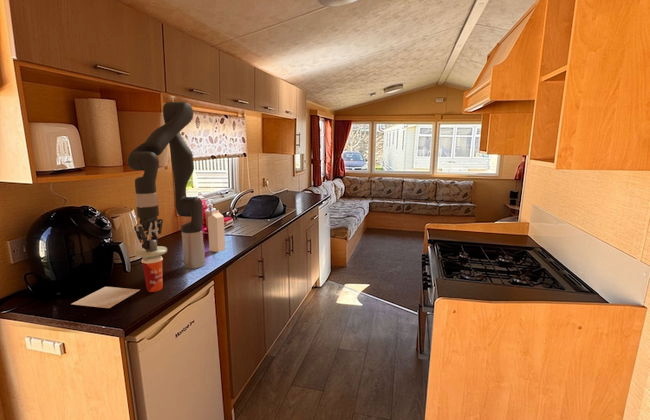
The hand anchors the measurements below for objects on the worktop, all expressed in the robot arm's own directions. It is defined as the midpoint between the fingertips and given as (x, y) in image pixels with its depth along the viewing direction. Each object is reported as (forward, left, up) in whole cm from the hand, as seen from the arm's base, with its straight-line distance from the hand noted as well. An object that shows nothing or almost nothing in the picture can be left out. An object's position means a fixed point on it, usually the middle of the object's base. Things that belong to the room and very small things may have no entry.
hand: (151, 247), depth 137 cm
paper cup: (0, 0, -18) cm, 18 cm away
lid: (0, 0, -2) cm, 2 cm away
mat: (+10, -13, -18) cm, 24 cm away
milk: (-54, -1, -18) cm, 57 cm away
